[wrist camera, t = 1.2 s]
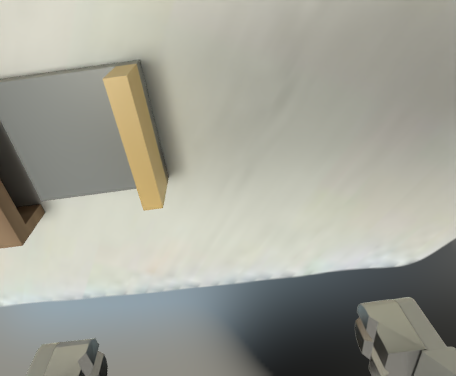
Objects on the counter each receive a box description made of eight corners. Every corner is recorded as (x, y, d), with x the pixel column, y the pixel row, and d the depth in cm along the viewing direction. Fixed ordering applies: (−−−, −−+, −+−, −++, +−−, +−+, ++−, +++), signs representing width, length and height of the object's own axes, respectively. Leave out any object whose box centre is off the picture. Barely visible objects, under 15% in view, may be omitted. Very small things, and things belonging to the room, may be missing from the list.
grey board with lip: (140, 59, 25) (126, 75, 20) (168, 175, 30) (162, 208, 26) (-7, 79, 25) (-51, 99, 20) (48, 191, 30) (22, 226, 26)
